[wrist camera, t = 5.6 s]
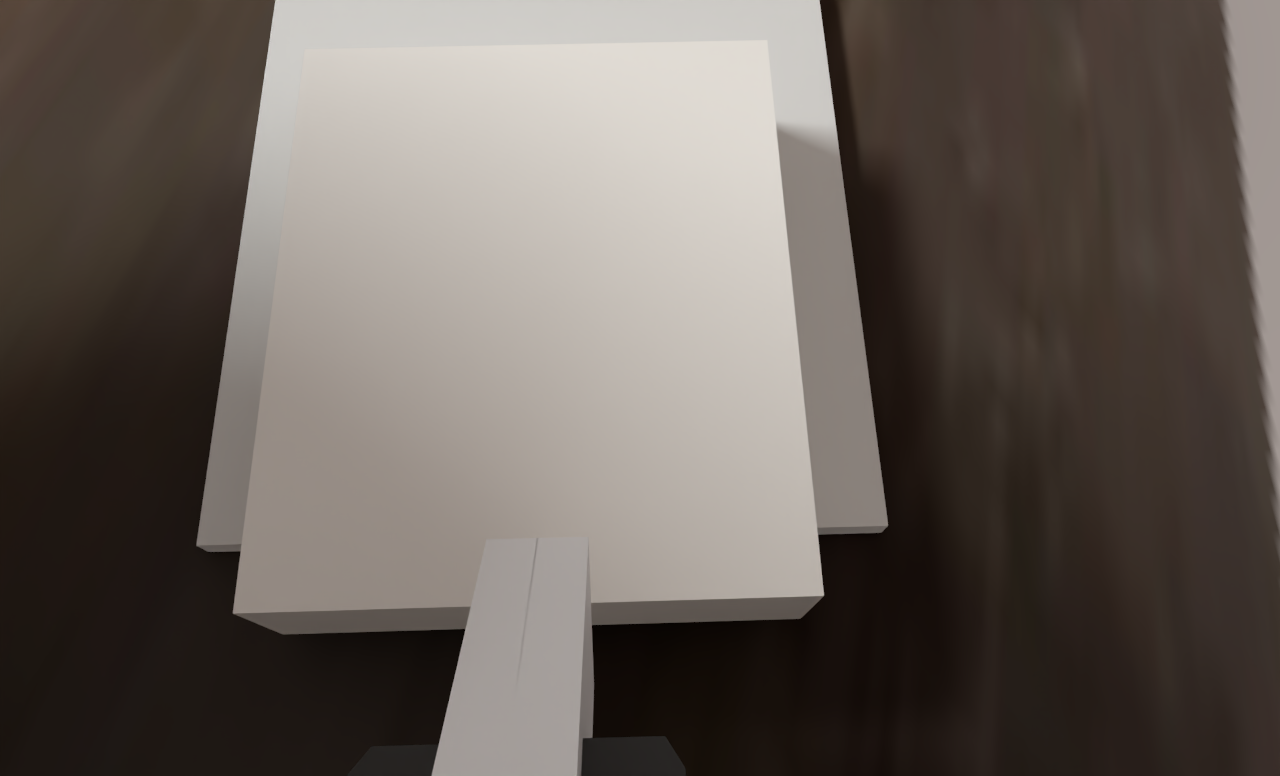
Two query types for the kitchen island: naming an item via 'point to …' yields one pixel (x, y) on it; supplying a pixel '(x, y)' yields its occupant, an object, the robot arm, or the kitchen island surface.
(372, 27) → the mat
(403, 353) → the tile
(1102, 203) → the kitchen island surface
